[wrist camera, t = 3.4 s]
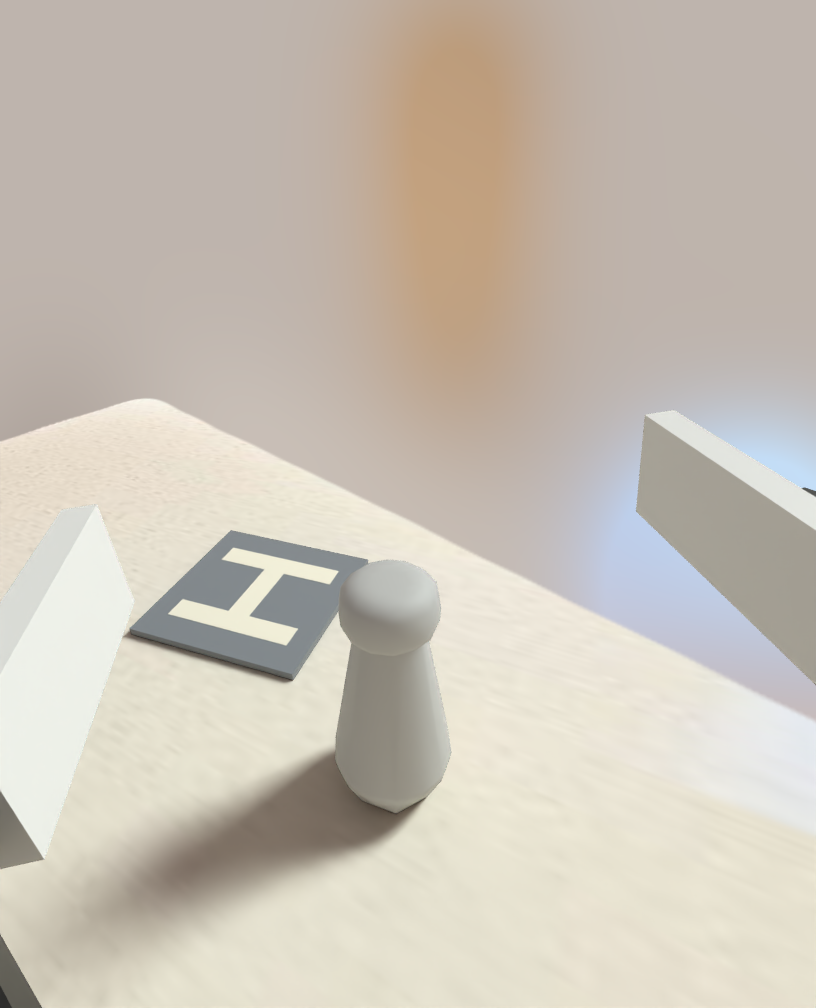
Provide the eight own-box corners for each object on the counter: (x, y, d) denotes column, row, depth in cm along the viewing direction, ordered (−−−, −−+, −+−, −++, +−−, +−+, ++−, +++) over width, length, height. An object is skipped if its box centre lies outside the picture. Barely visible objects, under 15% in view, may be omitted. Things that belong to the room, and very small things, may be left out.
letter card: (131, 634, 41) (129, 628, 41) (231, 535, 51) (230, 530, 51) (293, 680, 38) (292, 673, 38) (368, 565, 47) (367, 559, 47)
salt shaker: (339, 731, 35) (321, 542, 28) (441, 724, 35) (449, 535, 28) (337, 834, 30) (314, 635, 23) (456, 825, 30) (469, 626, 23)
